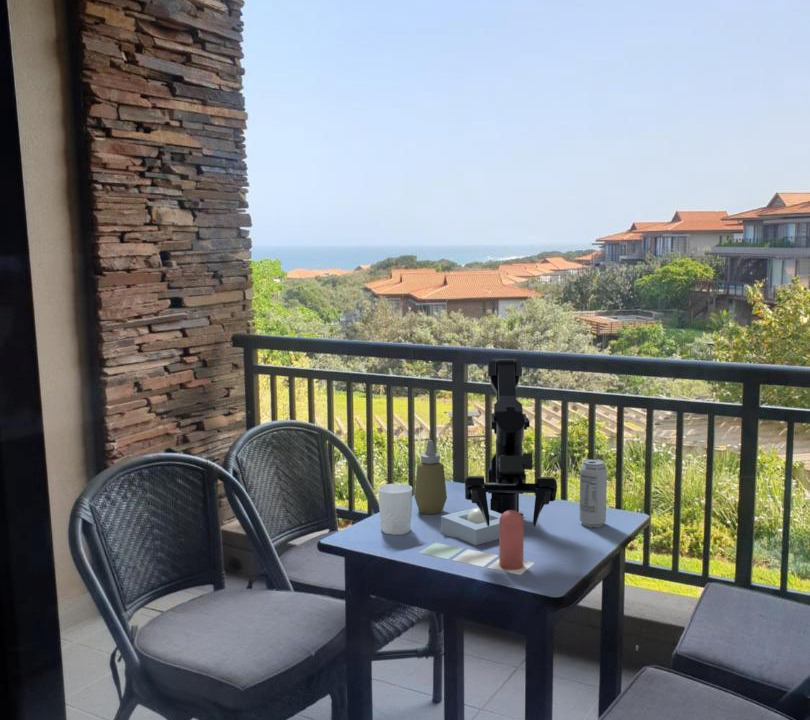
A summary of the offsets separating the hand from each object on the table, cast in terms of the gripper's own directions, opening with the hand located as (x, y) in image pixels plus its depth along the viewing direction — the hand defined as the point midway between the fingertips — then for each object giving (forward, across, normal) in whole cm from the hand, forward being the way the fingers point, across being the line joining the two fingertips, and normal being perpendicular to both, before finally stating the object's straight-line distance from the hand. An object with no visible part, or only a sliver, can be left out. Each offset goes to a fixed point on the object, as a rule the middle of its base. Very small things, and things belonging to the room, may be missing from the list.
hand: (511, 525), depth 160 cm
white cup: (-9, -26, +21) cm, 34 cm away
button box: (-8, -7, +20) cm, 22 cm away
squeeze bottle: (-19, -18, +31) cm, 41 cm away
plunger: (-8, -7, +19) cm, 22 cm away
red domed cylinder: (+6, 0, +6) cm, 8 cm away
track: (+4, -7, +8) cm, 12 cm away
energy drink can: (-14, +20, +26) cm, 36 cm away
